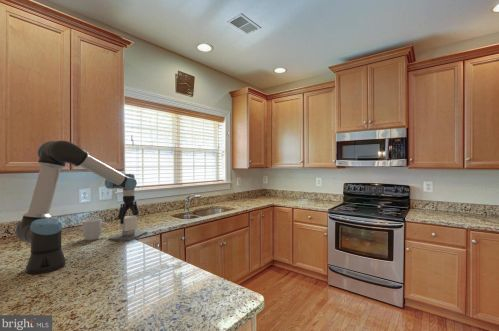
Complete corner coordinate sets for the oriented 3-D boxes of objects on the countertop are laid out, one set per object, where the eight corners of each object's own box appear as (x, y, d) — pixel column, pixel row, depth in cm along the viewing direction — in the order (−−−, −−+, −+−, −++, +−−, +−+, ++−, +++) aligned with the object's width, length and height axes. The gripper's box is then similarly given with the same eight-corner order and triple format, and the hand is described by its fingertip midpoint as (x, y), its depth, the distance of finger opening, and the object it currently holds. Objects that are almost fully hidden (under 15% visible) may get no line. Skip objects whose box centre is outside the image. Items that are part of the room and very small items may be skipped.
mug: (106, 234, 177) (106, 216, 177) (109, 238, 169) (109, 219, 169) (81, 238, 168) (81, 219, 168) (83, 242, 159) (83, 222, 159)
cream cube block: (137, 228, 175) (137, 217, 175) (125, 231, 168) (125, 219, 168) (132, 226, 180) (132, 215, 180) (120, 229, 174) (120, 217, 174)
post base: (129, 241, 163) (129, 225, 163) (108, 239, 166) (108, 224, 166) (147, 233, 182) (147, 219, 182) (128, 231, 185) (128, 218, 185)
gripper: (121, 197, 162) (121, 230, 162) (143, 193, 185) (143, 222, 185) (111, 197, 163) (111, 230, 163) (134, 193, 186) (134, 222, 187)
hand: (128, 226), depth 174 cm, fingers closed on cream cube block, 11 cm apart
